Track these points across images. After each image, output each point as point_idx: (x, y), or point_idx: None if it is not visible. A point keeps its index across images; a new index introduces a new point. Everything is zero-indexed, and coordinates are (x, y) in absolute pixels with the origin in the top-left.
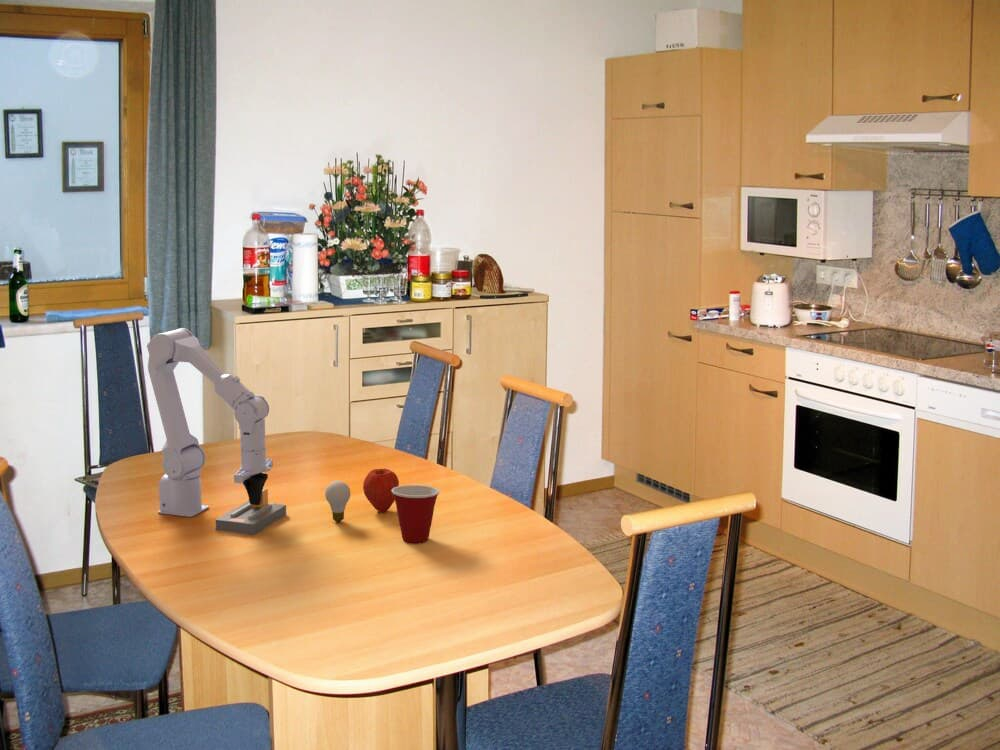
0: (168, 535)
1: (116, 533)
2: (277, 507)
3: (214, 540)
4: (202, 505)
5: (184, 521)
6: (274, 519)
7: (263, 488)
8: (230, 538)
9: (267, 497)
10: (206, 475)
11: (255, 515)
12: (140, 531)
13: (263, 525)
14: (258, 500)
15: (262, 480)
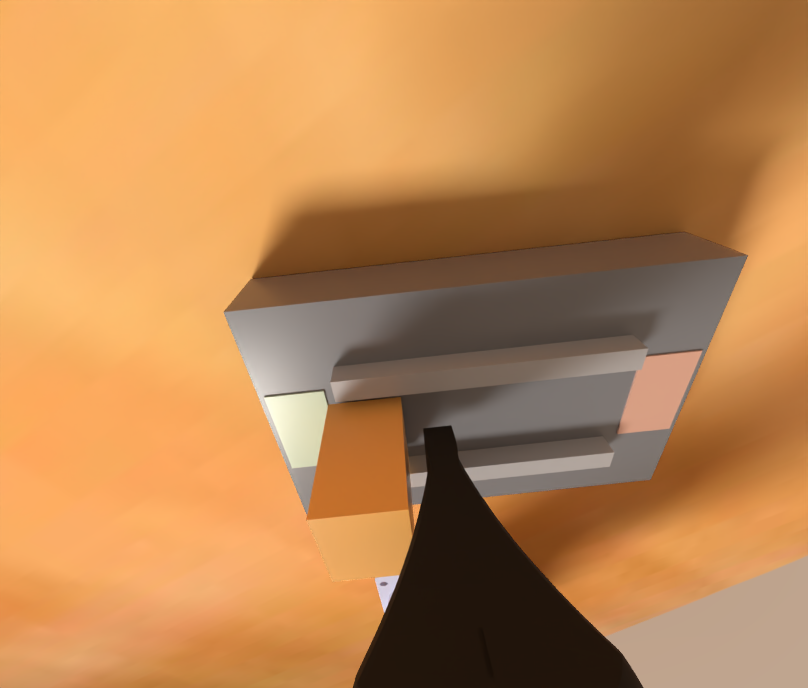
0: (695, 517)
1: (678, 600)
2: (314, 332)
3: (772, 366)
4: (386, 589)
5: (537, 551)
6: (416, 268)
7: (325, 541)
8: (745, 319)
9: (326, 447)
10: (134, 684)
11: (577, 347)
12: (657, 577)
13: (574, 253)
14: (456, 450)
15: (534, 669)
